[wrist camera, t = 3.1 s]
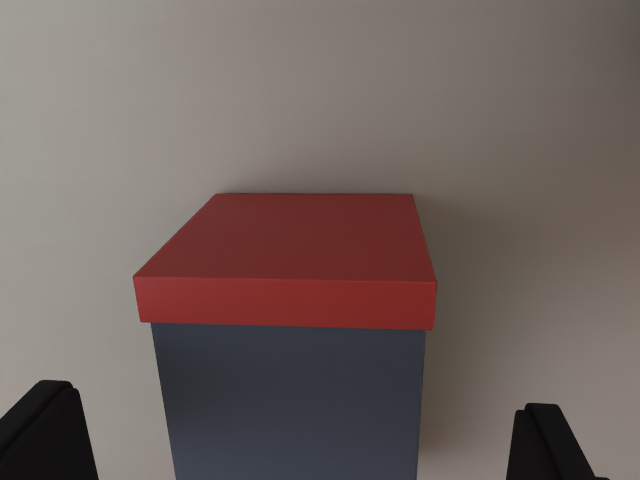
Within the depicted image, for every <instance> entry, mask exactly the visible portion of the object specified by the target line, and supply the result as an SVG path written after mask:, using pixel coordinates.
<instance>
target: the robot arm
mask: <svg viewBox="0 0 640 480" xmlns="http://www.w3.org/2000/svg"><path fill="white" fill-rule="evenodd" d="M0 480H99V479H98V474H97V470H96V465H95V461H94V456H93V452H92V447H91V443H90V438H89V434H88V429H87V425H86V420H85V416H84V411H83V407H82V402H81V398H80V394H79V391H78V390H77V389H76V388H73V386H72V384H71V383H70V382H68V381H57V380H41V381H39V382H38V383H36V384H35V385H34V386H33V387H32V388H31V389H30V390H29V391H28V392H27V393H26V394H25V395H24V396H23V397H22V398H21V399H20V400H19V401H18V402H17V403H16V404H15V405H14V406H13V407H12V408H11V409H10V410H9V411H8V412H7V413H6V414H5V415H4V416H3V417H2V418H1V419H0ZM506 480H609V479H608V478H604V477H595V475H594V473H593V471H592V469H591V467H590V465H589V463H588V461H587V459H586V458H585V456H584V454H583V452H582V450H581V448H580V446H579V444H578V442H577V440H576V438H575V436H574V434H573V432H572V430H571V428H570V426H569V424H568V423H567V421H566V419H565V417H564V415H563V413H562V411H561V409H560V408H559V406H558V405H556V404H540V403H527V404H526V406H525V409H524V410H517V411H516V413H515V418H514V426H513V433H512V440H511V447H510V454H509V462H508V469H507V476H506Z"/></svg>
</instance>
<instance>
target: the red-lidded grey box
mask: <svg viewBox="0 0 640 480" xmlns="http://www.w3.org/2000/svg"><path fill="white" fill-rule="evenodd" d="M133 281H134V287H135V293H136V299H137V305H138V310H139V316H140V321H141V322H150V323H151V328H152V334H153V341H154V347H155V353H156V359H157V365H158V371H159V378H160V384H161V390H162V396H163V402H164V408H165V414H166V421H167V427H168V433H169V439H170V445H171V451H172V457H173V464H174V470H175V476H176V480H417V464H418V447H419V431H420V415H421V399H422V383H423V366H424V350H425V334H426V330H433V329H434V320H435V305H436V291H437V281H436V278H435V274H434V271H433V267H432V264H431V260H430V257H429V253H428V249H427V246H426V242H425V239H424V235H423V232H422V228H421V225H420V221H419V218H418V214H417V210H416V207H415V203H414V200H413V196H412V195H390V194H215V195H214V196H213V197H212V198H211V199H210V200H209V201H208V202H207V203H206V204H205V205H204V206H203V207H202V208H201V209H200V210H199V211H198V212H197V213H196V214H195V215H194V216H193V217H192V218H191V219H190V220H189V221H188V222H187V223H186V224H185V225H184V226H183V227H182V228H181V229H180V230H179V231H178V232H177V233H176V234H175V235H174V236H173V237H172V238H171V239H170V240H169V241H168V242H167V243H166V244H165V245H164V246H163V247H162V248H161V249H160V250H159V251H158V252H157V253H156V254H155V255H154V256H153V257H152V258H151V259H150V260H149V261H148V262H147V263H146V264H145V265H144V266H143V267H142V268H141V269H140V270H139V271H138V272H137V273H136V274H135V275H134V276H133Z"/></svg>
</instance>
